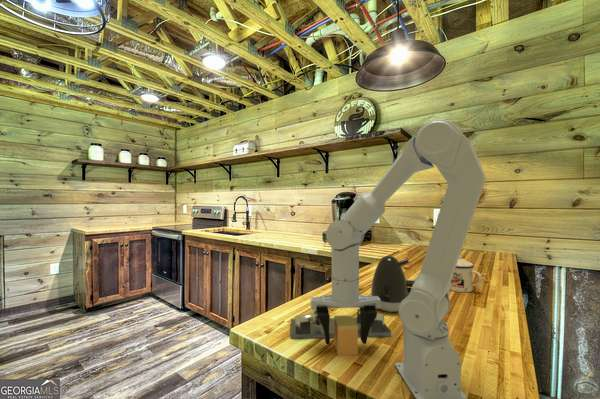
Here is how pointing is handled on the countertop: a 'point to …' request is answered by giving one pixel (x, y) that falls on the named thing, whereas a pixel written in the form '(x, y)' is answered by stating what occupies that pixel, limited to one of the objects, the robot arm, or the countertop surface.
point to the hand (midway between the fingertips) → (345, 341)
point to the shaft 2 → (374, 322)
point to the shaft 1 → (306, 322)
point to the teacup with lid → (464, 276)
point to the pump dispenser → (390, 283)
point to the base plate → (332, 331)
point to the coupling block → (345, 335)
